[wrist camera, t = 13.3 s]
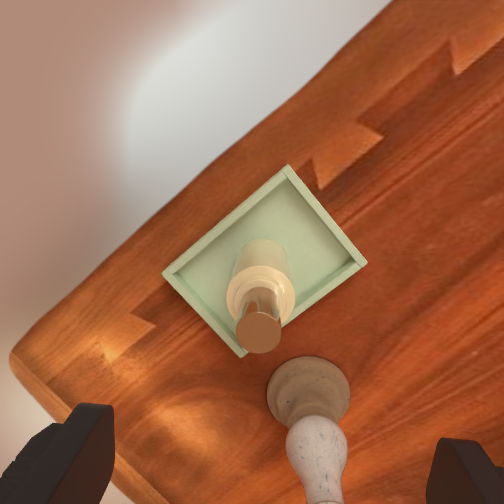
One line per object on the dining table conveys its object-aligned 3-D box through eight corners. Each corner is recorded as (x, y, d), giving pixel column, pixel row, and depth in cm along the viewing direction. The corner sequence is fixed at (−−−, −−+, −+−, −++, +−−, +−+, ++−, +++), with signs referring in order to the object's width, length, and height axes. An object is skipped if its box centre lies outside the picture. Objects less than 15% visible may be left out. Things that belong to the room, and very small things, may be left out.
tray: (287, 163, 35) (288, 164, 33) (363, 257, 37) (368, 263, 35) (166, 267, 38) (160, 274, 36) (241, 348, 40) (240, 359, 38)
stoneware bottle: (237, 236, 37) (218, 289, 23) (292, 240, 36) (306, 297, 22) (234, 287, 38) (213, 367, 24) (286, 291, 38) (296, 375, 24)
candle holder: (365, 384, 41) (455, 602, 21) (314, 439, 43) (352, 684, 23) (299, 339, 40) (329, 524, 20) (250, 398, 42) (234, 617, 22)
